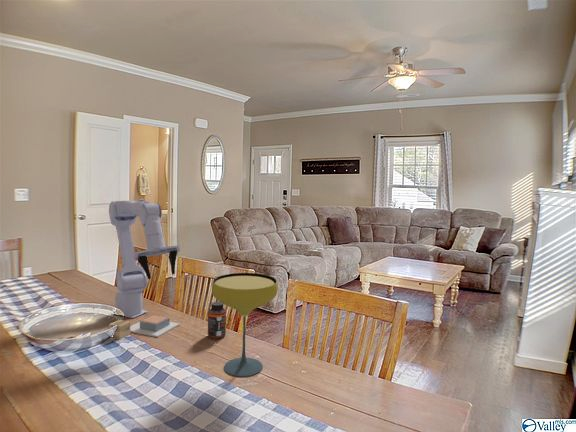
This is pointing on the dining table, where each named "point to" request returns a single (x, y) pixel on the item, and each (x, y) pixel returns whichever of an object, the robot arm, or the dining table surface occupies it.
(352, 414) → the dining table surface
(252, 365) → the cocktail glass
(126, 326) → the maple block
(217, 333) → the supplement bottle
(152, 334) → the base
